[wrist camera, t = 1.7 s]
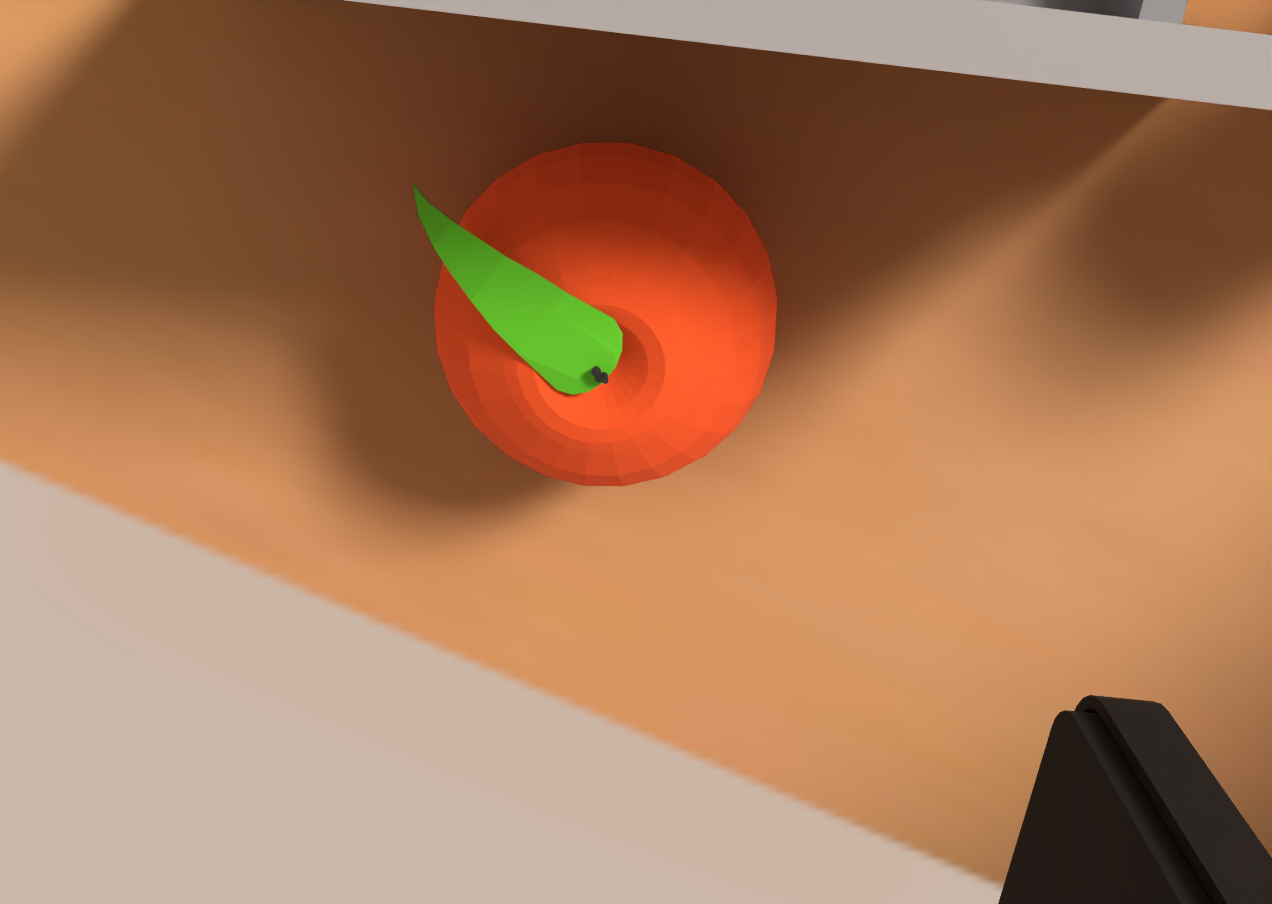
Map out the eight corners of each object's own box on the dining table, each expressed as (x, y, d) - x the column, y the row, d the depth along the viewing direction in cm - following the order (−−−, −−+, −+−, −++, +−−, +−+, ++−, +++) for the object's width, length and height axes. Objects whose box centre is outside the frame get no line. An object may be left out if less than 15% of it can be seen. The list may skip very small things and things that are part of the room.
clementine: (365, 271, 27) (271, 371, 20) (541, 18, 25) (500, 38, 18) (638, 468, 29) (633, 618, 22) (825, 248, 26) (882, 342, 20)
